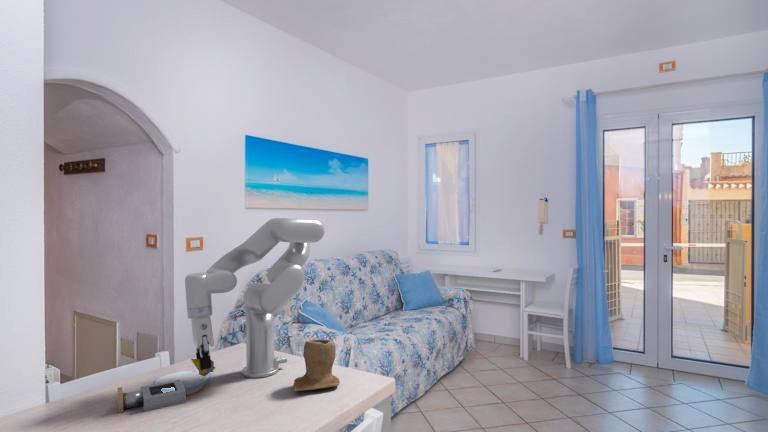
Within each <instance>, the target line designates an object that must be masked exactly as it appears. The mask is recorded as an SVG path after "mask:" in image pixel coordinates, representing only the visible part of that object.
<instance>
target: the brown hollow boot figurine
mask: <svg viewBox="0 0 768 432" xmlns="http://www.w3.org/2000/svg"><path fill="white" fill-rule="evenodd" d="M303 358H304V363H305V373H304V375H302V376H299V377H296V378H295V379H294V380H293V391H294V392H301V391H302V392H303V391H305V392H306V391H313V390H320V389H327V388H328V389H329V388H333V387H338V386H339V385H340V384H341V383H340V382H341V381H340V379H339V378H338V377H337V376H335V375H333V366H334V363H335V358H336V343H335V342H334V340H331V339H318V338H317V339H308V340H306V341H305V343H304V346H303Z"/></svg>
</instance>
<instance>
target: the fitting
mask: <svg viewBox="0 0 768 432" xmlns="http://www.w3.org/2000/svg"><path fill="white" fill-rule="evenodd" d="M171 387H174V388H175V391H170V392H166V393H163V392H162V391H161V389H162V388H171ZM123 390H124V389H123V386H121V387H117V389H116V391H117V392H116V394H117V397H116V399H117V414H121V413H122V414H123V413H124V410H125V409H129V408H134V407H139V406H142V410H143V412H144V413H145V412H149V411H154V410H158V409H163V408H167V407H171V406H175V405H181V404H185V403H186V401H187V400H186V399H187V398H186V397H187V396H186V395H187V394H186V392H187V391H186V389H185V387H184V385H183V383H182V381H181V379H179V378H178V379H174V380H169V381H163V382H159V383H154V384H148V385H144V386H140V389H137V390H132V391H131V390H130V391H126V392H123Z"/></svg>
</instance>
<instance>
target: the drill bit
mask: <svg viewBox="0 0 768 432" xmlns="http://www.w3.org/2000/svg"><path fill="white" fill-rule="evenodd" d="M190 360H191V362H192V363H193V365H194V366H195V367H196V369H197V370H198V374H199V375H200V376H202V377H206V376H208V375H209V374H210V373H213V372H214V370H215V369H216V366H214V365H215V362H214V360H212V359H211V368H208V369H204V370H201V369H200V359H196V358H190Z"/></svg>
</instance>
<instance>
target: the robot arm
mask: <svg viewBox="0 0 768 432" xmlns="http://www.w3.org/2000/svg"><path fill="white" fill-rule="evenodd" d="M324 234H325V226H324V224H322V223H321V222H320V221H319V220H317V219H300V218H285V217H273V218H271V219H269V220H267V221H266V222H265V223H264V224H263V225H261V226H260V227H259V228H258V229H257V230H256V231H255V232H254V233H253V234H252V235H250V236H249V237H248V238H247V239H246V240H245V241H244V242H243V243H241V244H240V245H238V246H236V247H235V248H233V249H232V250H230V251H229V252H227V253H225V254H224V255H223V256H221V257H220V258H219V259H218V260H216V262H214V263H213V264H212V265H211V266H209V268H208V269H207V270H206V271H205V272H194V273H189V274H188V275H187V274H186V276H185V278H184V287H185V288H184V289H185V300H186V302H185V303H186V313H187V319H190V320H191V331H192V332H191V333H192V340H193V344H194V345H195V350H196V351H195V356H196V358H195V359H200V369H201V370H204V369H208V368H211V360H212V359H211V352H210V347H214V345H215V341H214V335H213V334H214V333H213V324H212V319H211V316H212V315H213V304H212V303H213V302H212V301H213V299H212V294H224V293H225V294H226V293H229V292H232V290H234V289H235V288H236V286H237V283H238V278H237V276H236V274H235V273H236V272H237V271H239V270H240V269H242V268H244V267H247V266H249V265H253V264H255V263H258V262H259V261H261V260H262V259H263V258H264V257H265V256H267V254H269V252H271V251H272V250H273V249H274V248H275V247H276V246H277V245H278V244H279V243H281V242H283V243H289V245H288V247H287V249H286V250H285V251H284V252H283V254H281V256H280V257H279V258H278V259H277V260H276V261H275V262H274V263H273V264H272V265H271V266H270V268H268V270H267V274H266V278H267V279H266V280H267V281H268V283H269V284H268V283H265V282H255V283H251V284H250V285H249V286H248V287H247V288H246V289H245V291H244V294H243V305H244V311H245V313H244V314H245V323H246V324H245V327H246V328H245V329H246V330H245V334H246V335H245V337H246V339H245V340H246V341H245V342H246V343H245V345H246V346H245V347H246V350H245V351H246V353H245V354H246V357H245V358H246V362H245V363H246V366H244V367H243V368H242V369H241V374H242V376H244V377H247V378H251V379H253V378H256V379H257V378H265V377H270V376H273V375H274V374H277V372H278V371H279V368H280V367H279V365H280V364H286V363H288V357H287V356H283V357H282V356H278V357H276V356H275V320H274V319H275V317H274V314H276V313H278V312H280V311H281V310H282V309H283V308H285V306H286V305H287V304H288V303H289V302H290V300H291V299H293V297H294V296H295V294H297V292H298V291H299V290H300V289H301V288H302V286H303V283H304V281H305V276H306V275H305V270H304V269H303V267H304V266H305V263H306V262H307V261H308V259H309V257H310V251H311V249H310V246H311V245H310V244H311V243H313V244H314V243H317V242H319V241H321V240H322V238H324Z"/></svg>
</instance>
